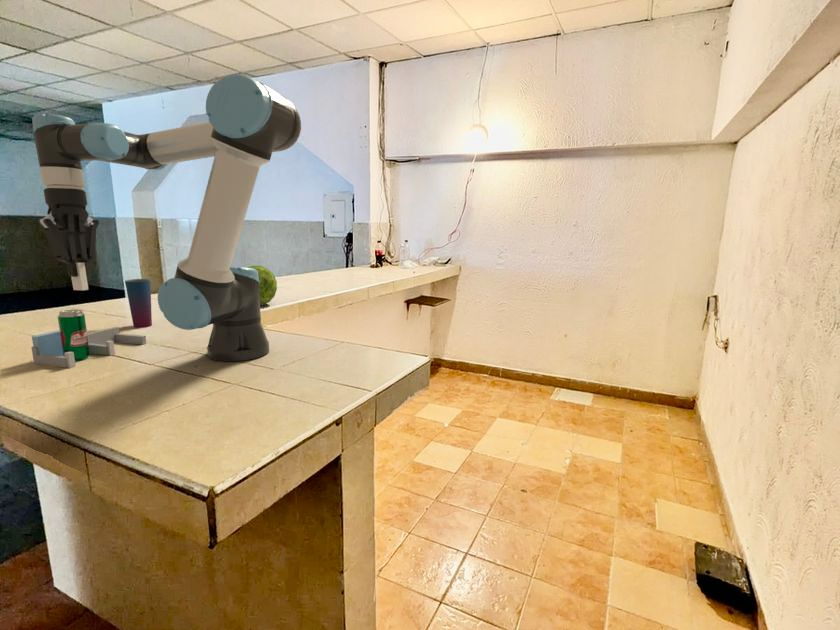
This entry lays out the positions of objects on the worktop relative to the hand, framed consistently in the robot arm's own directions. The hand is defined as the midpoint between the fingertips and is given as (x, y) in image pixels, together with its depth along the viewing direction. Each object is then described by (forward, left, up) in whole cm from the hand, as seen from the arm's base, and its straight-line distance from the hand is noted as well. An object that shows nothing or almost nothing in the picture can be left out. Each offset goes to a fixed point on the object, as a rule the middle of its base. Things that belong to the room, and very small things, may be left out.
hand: (81, 289), depth 103 cm
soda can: (+2, +2, -17) cm, 18 cm away
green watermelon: (+6, -77, -17) cm, 80 cm away
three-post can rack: (+2, -3, -17) cm, 18 cm away
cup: (+15, -30, -17) cm, 38 cm away
